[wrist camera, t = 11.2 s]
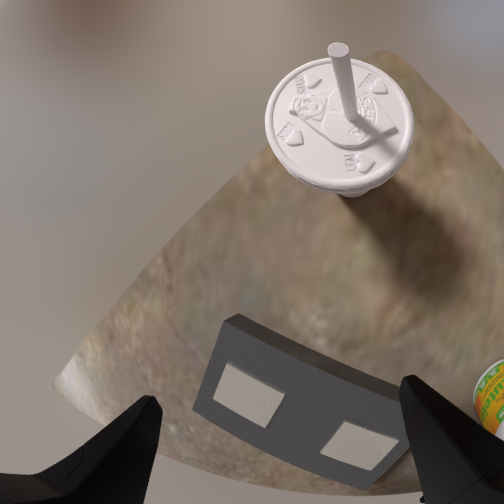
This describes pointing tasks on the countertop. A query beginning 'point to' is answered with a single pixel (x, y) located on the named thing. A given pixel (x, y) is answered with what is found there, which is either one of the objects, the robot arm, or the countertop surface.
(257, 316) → the countertop surface
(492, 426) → the supplement bottle
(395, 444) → the label box
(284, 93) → the smoothie
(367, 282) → the countertop surface
